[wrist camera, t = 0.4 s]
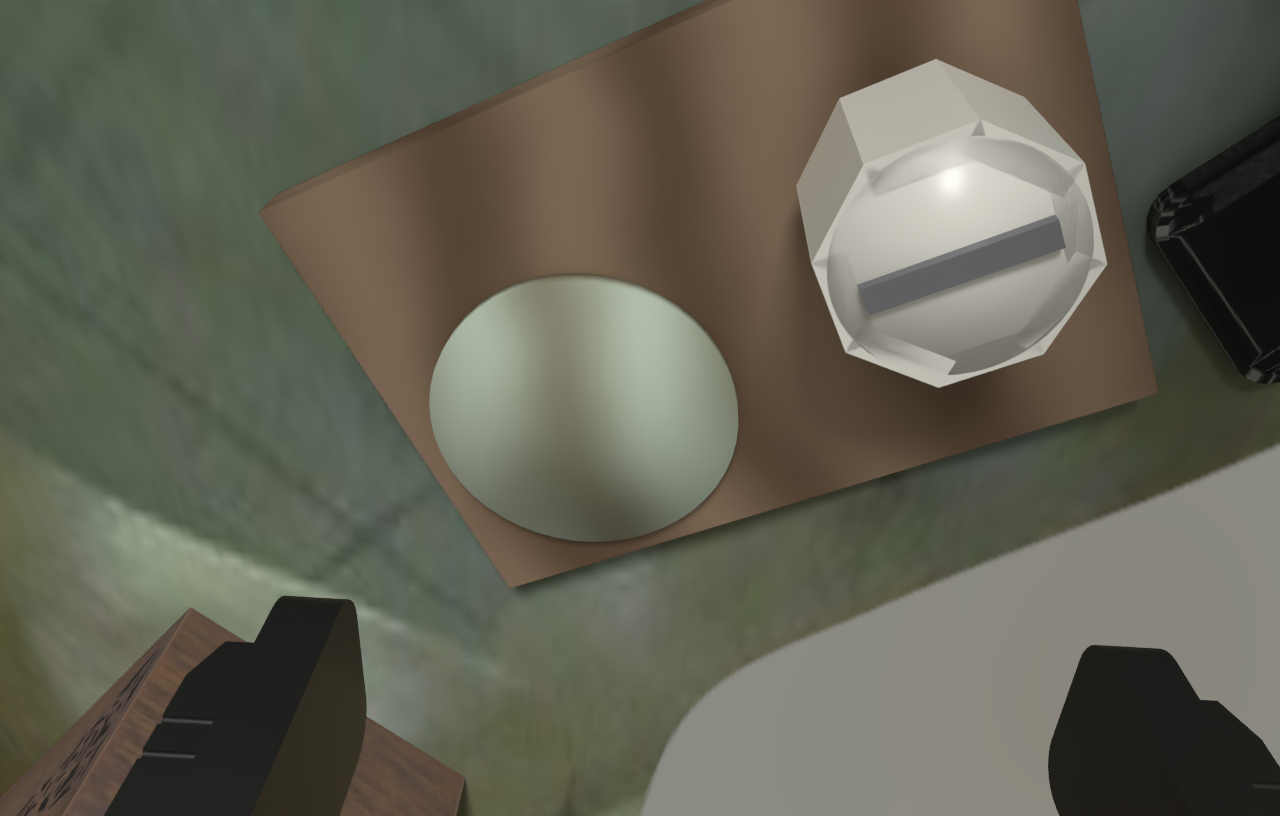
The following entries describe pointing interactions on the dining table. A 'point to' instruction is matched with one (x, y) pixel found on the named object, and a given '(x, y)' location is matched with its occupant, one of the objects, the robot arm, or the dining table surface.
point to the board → (679, 278)
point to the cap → (947, 225)
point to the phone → (1230, 248)
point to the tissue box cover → (130, 710)
